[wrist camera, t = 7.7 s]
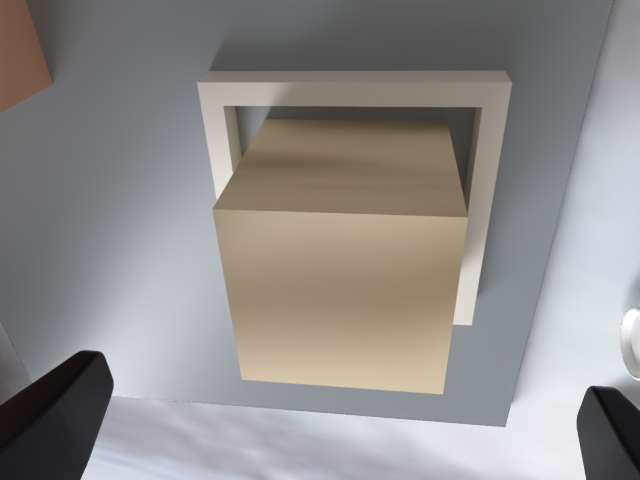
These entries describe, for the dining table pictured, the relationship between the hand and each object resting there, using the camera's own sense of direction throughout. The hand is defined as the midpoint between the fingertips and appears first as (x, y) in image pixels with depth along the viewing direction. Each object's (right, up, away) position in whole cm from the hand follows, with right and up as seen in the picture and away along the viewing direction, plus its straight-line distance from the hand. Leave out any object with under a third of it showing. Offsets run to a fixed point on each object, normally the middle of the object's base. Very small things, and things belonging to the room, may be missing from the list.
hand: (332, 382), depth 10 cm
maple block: (+1, +4, +6) cm, 7 cm away
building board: (-3, +4, +7) cm, 9 cm away
